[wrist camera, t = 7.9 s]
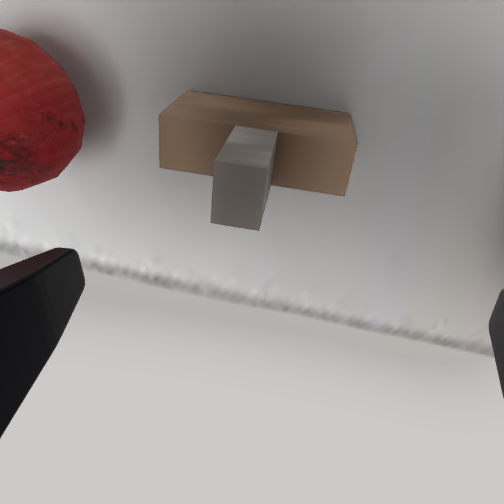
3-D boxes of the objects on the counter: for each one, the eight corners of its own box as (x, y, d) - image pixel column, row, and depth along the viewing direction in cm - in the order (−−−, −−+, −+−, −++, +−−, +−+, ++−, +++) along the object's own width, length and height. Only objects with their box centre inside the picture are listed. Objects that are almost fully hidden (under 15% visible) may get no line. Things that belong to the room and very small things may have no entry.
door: (350, 113, 18) (367, 183, 12) (340, 159, 19) (350, 245, 13) (188, 90, 18) (119, 145, 12) (187, 136, 19) (123, 208, 13)
